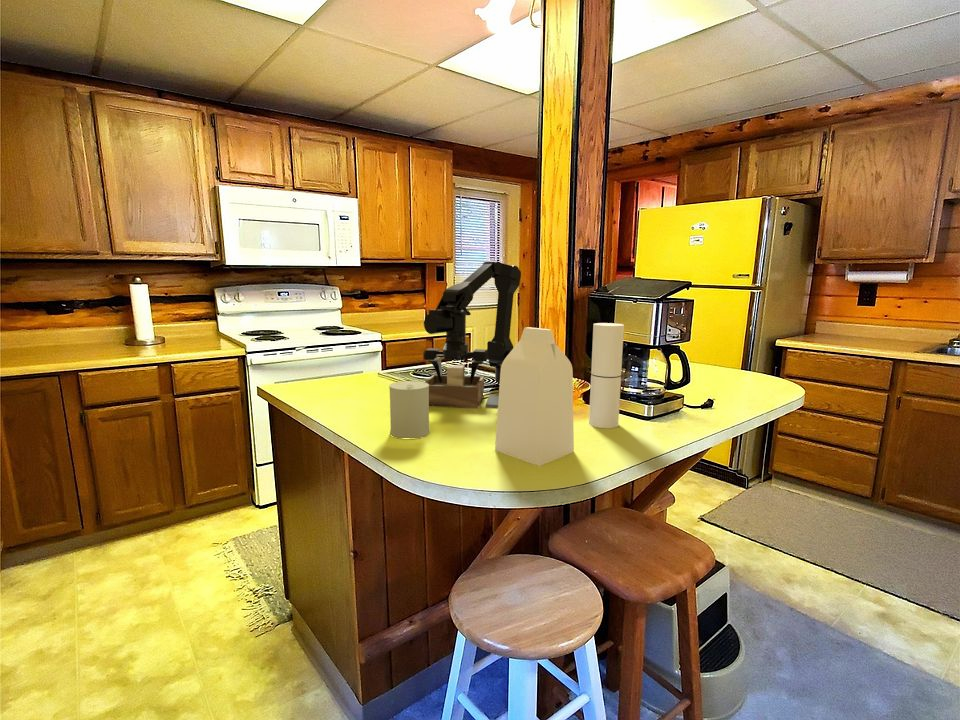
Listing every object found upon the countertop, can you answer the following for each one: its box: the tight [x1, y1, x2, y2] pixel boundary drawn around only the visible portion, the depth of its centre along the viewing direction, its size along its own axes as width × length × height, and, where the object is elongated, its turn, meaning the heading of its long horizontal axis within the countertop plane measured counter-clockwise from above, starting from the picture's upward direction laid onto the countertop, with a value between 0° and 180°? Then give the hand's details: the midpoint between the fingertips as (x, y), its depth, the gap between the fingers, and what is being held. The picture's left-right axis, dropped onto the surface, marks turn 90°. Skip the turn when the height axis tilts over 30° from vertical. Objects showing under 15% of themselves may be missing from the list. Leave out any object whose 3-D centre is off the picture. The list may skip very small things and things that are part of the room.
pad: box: [485, 393, 499, 409], centre depth 145 cm, size 12×8×1 cm, turn 173°
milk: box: [494, 326, 575, 467], centre depth 103 cm, size 12×12×26 cm
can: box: [388, 380, 431, 439], centre depth 115 cm, size 9×9×12 cm
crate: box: [424, 374, 485, 409], centre depth 146 cm, size 15×16×6 cm
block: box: [446, 364, 466, 386], centre depth 149 cm, size 5×5×6 cm
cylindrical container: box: [588, 322, 625, 429], centre depth 122 cm, size 7×7×25 cm
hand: (456, 383), depth 149 cm, fingers open, 9 cm apart
